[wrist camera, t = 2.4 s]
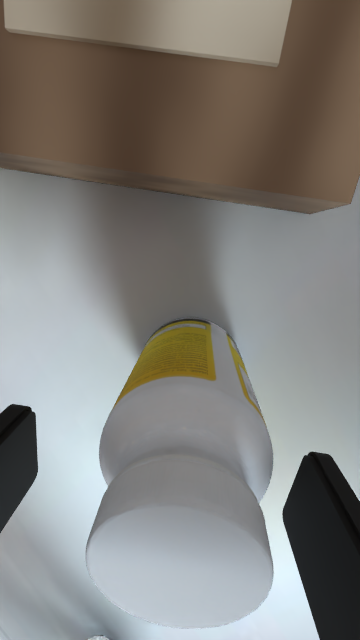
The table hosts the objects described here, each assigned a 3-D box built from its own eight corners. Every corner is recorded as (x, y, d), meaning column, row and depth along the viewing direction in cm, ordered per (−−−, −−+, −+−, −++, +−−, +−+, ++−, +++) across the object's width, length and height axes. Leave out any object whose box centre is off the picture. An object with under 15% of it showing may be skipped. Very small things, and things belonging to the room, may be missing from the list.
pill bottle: (125, 351, 17) (-6, 542, 6) (200, 294, 16) (197, 416, 5) (184, 416, 19) (159, 673, 8) (259, 369, 17) (367, 606, 6)
